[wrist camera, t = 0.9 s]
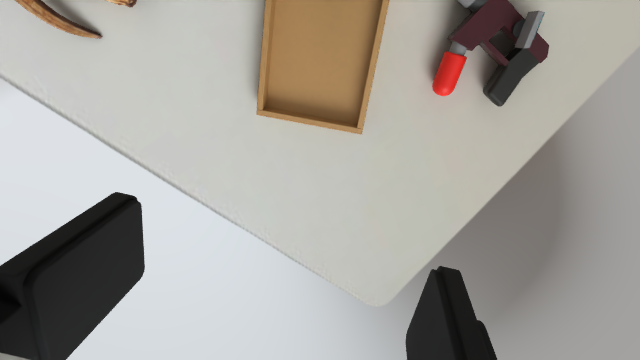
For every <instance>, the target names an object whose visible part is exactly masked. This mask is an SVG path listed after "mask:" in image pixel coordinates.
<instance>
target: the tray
mask: <svg viewBox="0 0 640 360" xmlns="http://www.w3.org/2000/svg"><path fill="white" fill-rule="evenodd" d="M388 5H389V0H265V13H264V25H263V38H262V51H261V64H260V76H259V89H258V102H257V115H261V116H266V117H272V118H277V119H282V120H287V121H293V122H298V123H303V124H309V125H314V126H319V127H325V128H330V129H335V130H341V131H346V132H351V133H357V134H362V130H363V125H364V120H365V115H366V111H367V106H368V101H369V96H370V91H371V87H372V82H373V77H374V72H375V67H376V62H377V58H378V53H379V48H380V43H381V38H382V34H383V29H384V24H385V19H386V14H387V10H388Z"/></svg>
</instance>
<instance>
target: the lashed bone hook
mask: <svg viewBox="0 0 640 360" xmlns="http://www.w3.org/2000/svg"><path fill="white" fill-rule="evenodd" d="M15 1H16V2H18V3H19V4H20V5H21V6H23V7H24V8H25V9H26V10H28V11H29V12H31V13H32V14H34V15H35V16H37V17H38V18H40V19H41V20H43V21H45V22H46V23H48V24H50V25H52V26H54V27H56V28H58V29H60V30H63V31H65V32H68V33H71V34H74V35H78V36H83V37H89V38H101V37H102V36H101V35H100V34H98V33H96V32H94V31H92V30H90V29H87V28H85V27H83V26H81V25H79V24H77V23H74V22H72V21H70V20H69V19H67V18H65V17H63V16H61V15H60V14H58V13H57V12H55V11H54V10H53V9H52V8H50V7H49V6H48V5H46V4H45V3H44V2H43V1H41V0H15ZM106 1H110V2H113V3H115V4H118V5H126V6H128V7H133V6H134V5H135V4H136V2H137V0H106Z"/></svg>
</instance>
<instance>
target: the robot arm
mask: <svg viewBox="0 0 640 360" xmlns="http://www.w3.org/2000/svg"><path fill="white" fill-rule="evenodd" d="M144 268H145V265H144V246H143V227H142V209H141V203H140V202H138V201H137V198H136V197H135V196H132V195H128V194H123V193H118V192H115V193H113V194H111V195H110V196H108V197H107V198H105V199H103V200H102V201H101V202H99V203H97V204H96V205H94V206H93V207H91V208H89V209H88V210H86V211H85V212H83V213H82V214H80V215H79V216H77V217H75V218H74V219H72V220H71V221H69V222H68V223H66V224H65V225H63V226H61V227H60V228H58V229H57V230H55V231H54V232H52V233H51V234H49V235H48V236H46V237H44V238H43V239H41V240H40V241H38V242H37V243H35V244H33V245H32V246H30V247H29V248H27V249H26V250H24V251H23V252H21V253H19V254H18V255H16V256H15V257H13V258H12V259H10V260H9V261H7V262H5V263H4V264H3V265H1V266H0V360H66V359H67V358H68V357H69V356H70V355H71V353H72V352H73V351H74V350H75V349H76V348H77V347H78V346H79V345H80V344H81V343H82V341H83V340H84V339H85V338H86V337H87V336H88V335H89V334H90V333H91V332H92V331H93V330H94V328H95V327H96V326H97V325H98V324H99V323H100V322H101V321H102V320H103V319H104V318H105V317H106V316H107V314H108V313H109V312H110V311H111V310H112V309H113V308H114V307H115V306H116V305H117V304H118V303H119V301H120V300H121V299H122V298H123V297H124V296H125V295H126V294H127V293H128V292H129V291H130V290H131V289H132V287H133V286H134V285H135V284H136V283H137V282H138V281H139V280H140V279H141V277H142V275H143V273H144ZM406 352H407V360H497V358H496V355H495V352H494V349H493V347H492V344H491V341H490V338H489V336H488V333H487V330H486V328H485V326H484V324H483V323H482V322H481V321H479V320H477V319H476V316H475V313H474V310H473V307H472V304H471V301H470V299H469V296H468V293H467V290H466V287H465V284H464V281H463V278H462V275H461V273H460V271H459V270H456V269H451V268H447V267H442V266H439V267H438V269H437V270H434V269H432V270H431V272H430V274H429V277H428V279H427V282H426V284H425V287H424V289H423V292H422V294H421V297H420V300H419V303H418V305H417V307H416V310H415V313H414V316H413V318H412V320H411V323H410V325H409V328H408V331H407V334H406Z"/></svg>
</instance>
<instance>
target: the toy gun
mask: <svg viewBox="0 0 640 360" xmlns="http://www.w3.org/2000/svg"><path fill="white" fill-rule="evenodd" d="M458 1H459V2H460V3H461V4H462V5H463V6H464V7H465V8H467V7H468V8H469V9H470V10H471V11H472V13H471V14H470V15H469V16H468V17H467V18H466V19H465V20H464V21H463V22H462V23H461V24H460V26H459V27H458V28H457V29H456V30H455V31H454V32H453V33H452V34H451V35H450V36H449V37H448V38H447V39H449V40H451V41H452V44H451V46H450V49H449V52H448V51H445V52H444V55H443V58H442V60H441V63H440V65H439V68H438V71H437V73H436V76H435V79H434V81H433V85H432V87H433V90H434V92H435V93H436V94H438V95H440V96H446V95H449V94H450V93H452V91H453V90H454V88H455V86H456V83H457V81H458V78H459V76H460V73H461V71H462V69H463V66H464V64H465V61H466V59H467V57H466V56H464V54H465V52H466V50H471V51H472V50H473V49H474V48H475V47H476V46H477V45H478V44H479V45H480V46H481V47H482V48H483V49H484V50H485V51H486V52H487V53H488V54H489V55H490V56H491V57H492V58H493V59H494V60H495V61H496V62H497V63H498V64H499V66H498V68H497V69H496V71H495V72H494V74H493V75H492V77H491V78H490V80H489V81H488V83H487V84H486V86H485V87H484V89H483V93H484V94H485V95H486V96H487V97H488V98H489V99H490V100H491V101H492V102H493V103H494V104H495V105H497V106H502V105H503V104H504V103H505V102H506V100H507V99H508V97H509V96H510V95H511V93H512V92H513V90H514V89H515V88H516V86H517V85H518V83H519V82H520V80H521V79H522V78H523V77H524V76H525V75H526V74H527V73H528V72H529V71H530V70H531V69H533V68H534V67H535V66H536V65H537V64H538V63H541V62H542V61H543V60H545V59H546V58H547V55H548V49H549V45H548V44H547V42H546V41H545V40H544V39H543V38H542V37H541V36H540V35H539V34H538V33H537V30H538V27H539V25H540V23H541V20H542V18H543V15H544V13H545V12H542V11H534V12H528V14H527V17H526V19H524V18H523V17H522V16H521V15H520V14H519V13H518V12H517V11H516V10H515V9H514V7H513V6H512V5H511V3H510V2H509V1H508V0H458ZM499 30H501V31H502V32H503V33H504V34H505V35H506V36H507V37H508V38H509V39H510V40H511V41H512V42H513V43H514V44H515V48H514V49H513V50H512V51H510V52H509V53H508V54H507V55H506V56H505V57H504V56H503V55H502V54H501V53H500V52H499V51H498V50H497V49H496V48H495V47H494V46H493V45H492V44H491V43H490V42H489V40H490V39H491V38H492V37H493V36H494V35H495V34H496V33H497V32H498V31H499Z"/></svg>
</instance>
